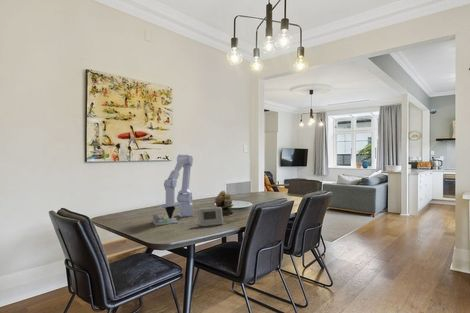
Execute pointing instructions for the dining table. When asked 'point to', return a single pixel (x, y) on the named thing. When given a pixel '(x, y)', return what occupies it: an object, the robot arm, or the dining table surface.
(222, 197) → the brown bushy plant
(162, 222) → the gauge bench
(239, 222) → the dining table surface
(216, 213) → the digital clock
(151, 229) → the dining table surface
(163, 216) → the gauge sled
